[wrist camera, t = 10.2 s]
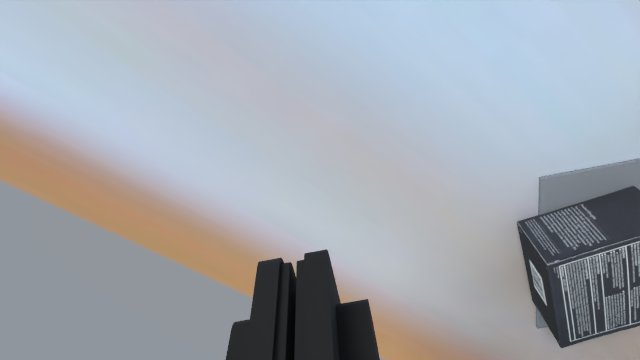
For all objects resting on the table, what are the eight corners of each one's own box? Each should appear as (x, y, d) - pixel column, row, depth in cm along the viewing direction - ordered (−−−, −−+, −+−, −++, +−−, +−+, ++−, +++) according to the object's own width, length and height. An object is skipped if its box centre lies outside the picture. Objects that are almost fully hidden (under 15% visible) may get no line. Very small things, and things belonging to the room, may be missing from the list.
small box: (529, 298, 48) (637, 269, 46) (559, 351, 42) (684, 319, 40) (514, 217, 43) (635, 181, 41) (546, 264, 37) (688, 224, 35)
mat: (663, 154, 40) (666, 156, 40) (638, 308, 49) (641, 311, 49) (539, 177, 41) (541, 179, 41) (535, 325, 50) (537, 328, 49)
